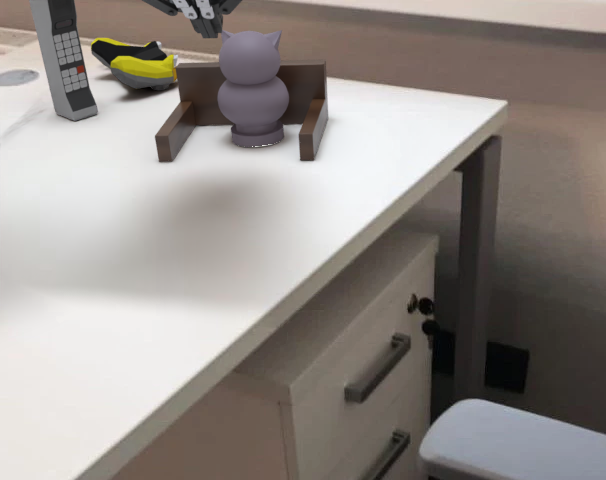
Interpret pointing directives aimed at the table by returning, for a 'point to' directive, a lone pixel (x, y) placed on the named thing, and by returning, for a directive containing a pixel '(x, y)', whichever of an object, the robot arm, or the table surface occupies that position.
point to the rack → (205, 111)
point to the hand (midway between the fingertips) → (211, 29)
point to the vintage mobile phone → (63, 58)
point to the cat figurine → (252, 87)
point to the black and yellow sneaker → (137, 63)
